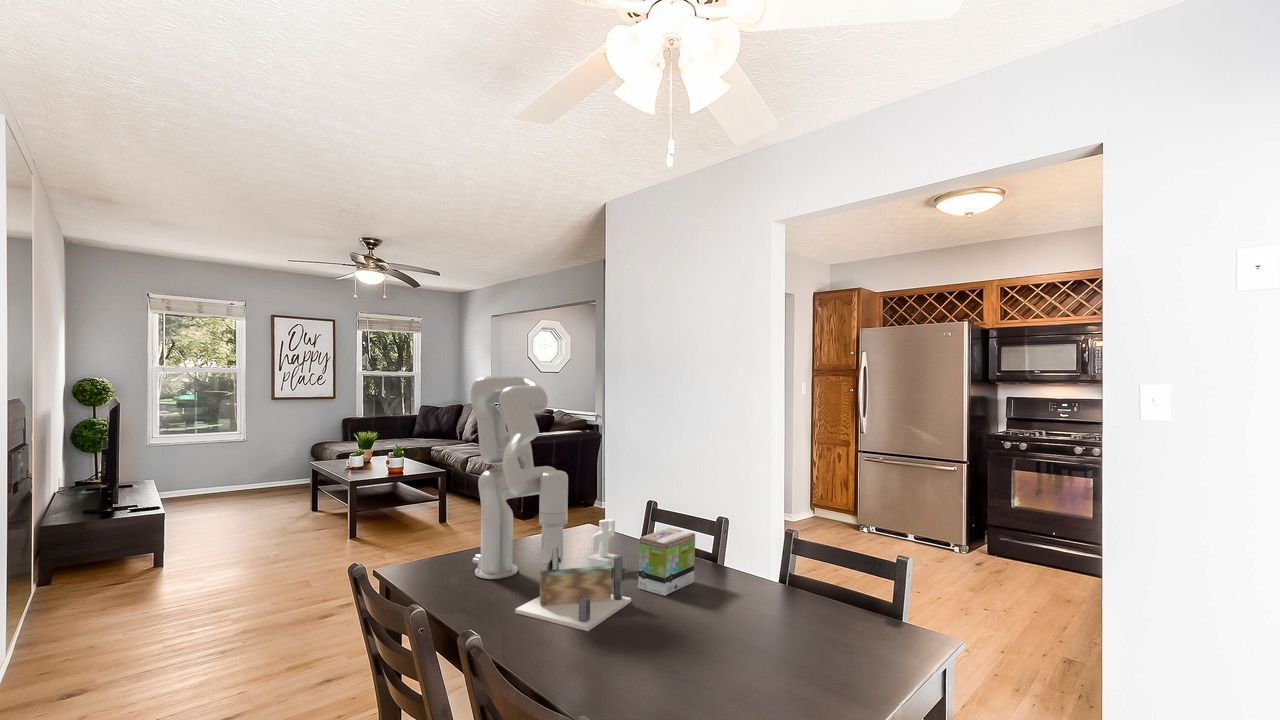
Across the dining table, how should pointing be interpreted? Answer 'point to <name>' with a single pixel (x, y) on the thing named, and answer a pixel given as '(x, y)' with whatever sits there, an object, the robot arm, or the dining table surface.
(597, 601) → the board
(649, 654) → the dining table surface
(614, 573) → the hinge post
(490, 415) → the robot arm
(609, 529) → the figurine
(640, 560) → the tea box
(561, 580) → the gate
